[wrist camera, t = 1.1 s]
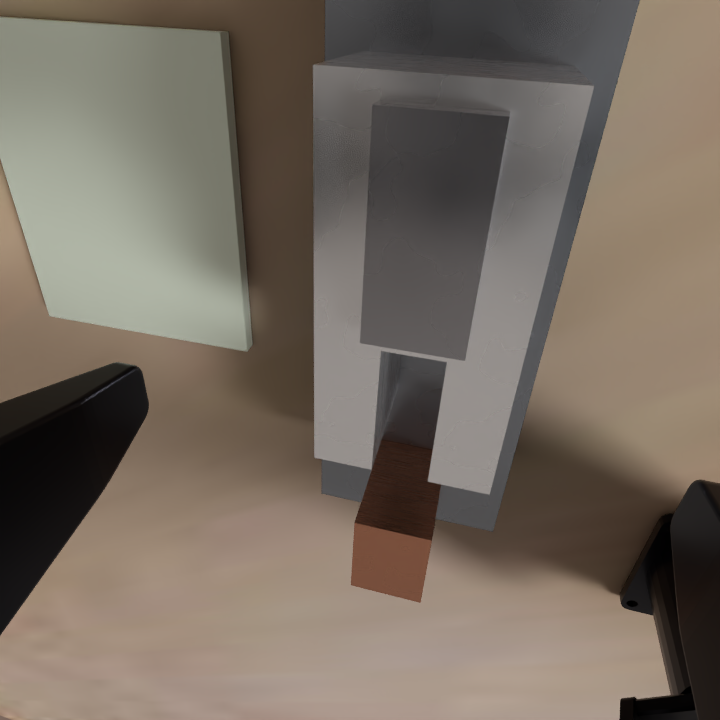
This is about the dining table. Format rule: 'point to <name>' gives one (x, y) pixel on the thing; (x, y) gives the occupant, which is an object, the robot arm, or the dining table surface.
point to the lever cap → (433, 241)
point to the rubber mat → (127, 175)
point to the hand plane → (426, 377)
